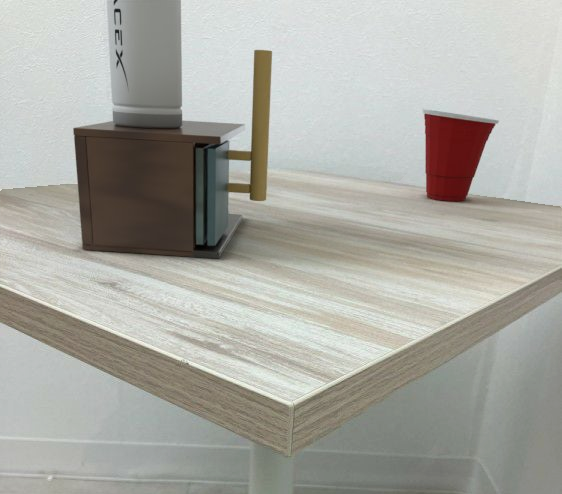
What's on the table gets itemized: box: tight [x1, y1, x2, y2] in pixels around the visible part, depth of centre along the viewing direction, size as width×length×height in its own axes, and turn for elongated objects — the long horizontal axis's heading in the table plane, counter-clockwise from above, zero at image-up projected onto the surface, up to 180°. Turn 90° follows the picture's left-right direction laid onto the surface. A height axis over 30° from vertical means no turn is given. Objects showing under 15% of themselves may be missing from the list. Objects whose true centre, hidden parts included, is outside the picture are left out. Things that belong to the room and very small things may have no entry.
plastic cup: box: [422, 108, 500, 202], centre depth 94 cm, size 11×11×12 cm
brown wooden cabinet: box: [72, 120, 246, 260], centre depth 63 cm, size 12×18×10 cm
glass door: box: [207, 49, 273, 246], centre depth 58 cm, size 4×8×16 cm, turn 176°
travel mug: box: [106, 0, 183, 129], centre depth 55 cm, size 6×7×20 cm
